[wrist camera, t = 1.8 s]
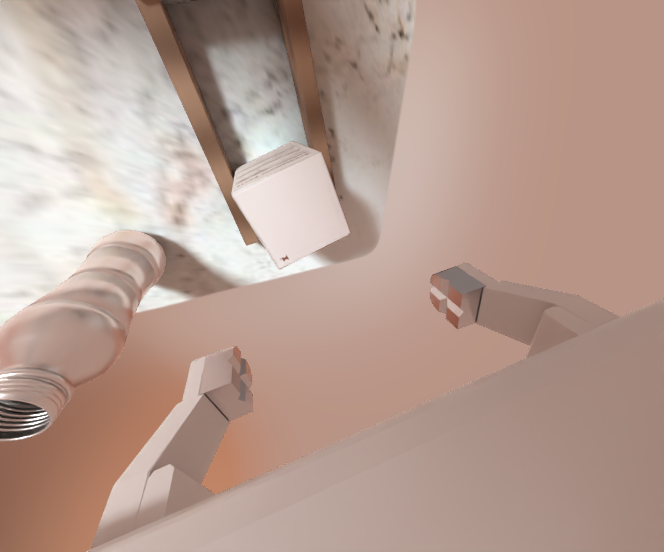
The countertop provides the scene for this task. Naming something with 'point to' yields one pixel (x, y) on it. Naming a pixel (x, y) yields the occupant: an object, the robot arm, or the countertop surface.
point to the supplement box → (290, 202)
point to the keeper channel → (187, 89)
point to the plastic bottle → (73, 332)
